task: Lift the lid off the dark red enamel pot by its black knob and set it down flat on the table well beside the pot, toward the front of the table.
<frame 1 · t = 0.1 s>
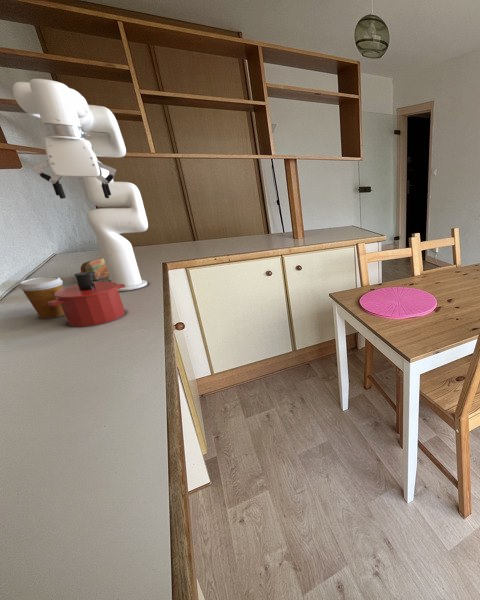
hand: (85, 198, 93), 37 cm above the counter, tool pointing down, fingers open, 9 cm apart
tin: (102, 277, 141), on the counter
pot: (97, 317, 102), on the counter
disposable coffee cup: (54, 315, 103), on the counter
pot lid: (88, 290, 99), point 9 cm above the counter, touching pot
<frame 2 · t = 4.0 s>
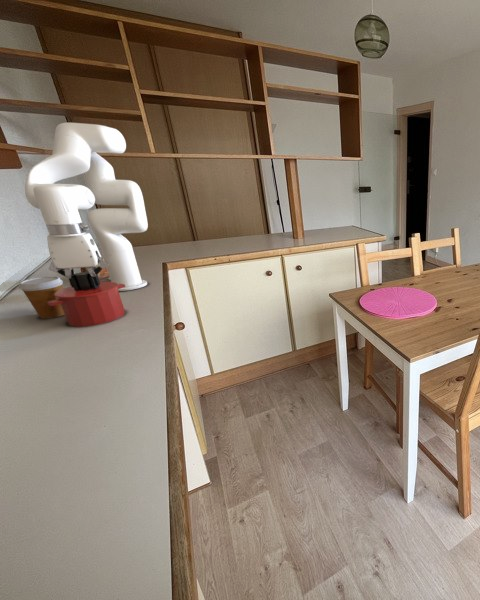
hand: (87, 288, 98), 10 cm above the counter, tool pointing down, fingers closed on pot lid, 3 cm apart
pot lid: (88, 290, 99), point 10 cm above the counter, touching gripper, pot
everything else where it was.
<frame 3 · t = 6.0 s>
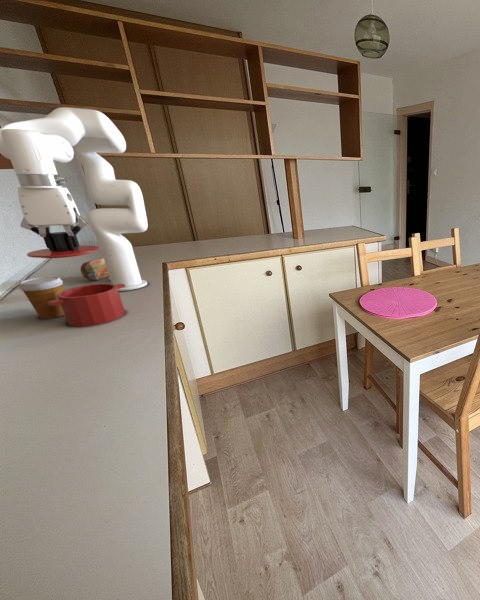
hand: (64, 249, 89), 24 cm above the counter, tool pointing down, fingers closed on pot lid, 3 cm apart
pot lid: (65, 252, 90), point 23 cm above the counter, touching gripper
everything else where it was.
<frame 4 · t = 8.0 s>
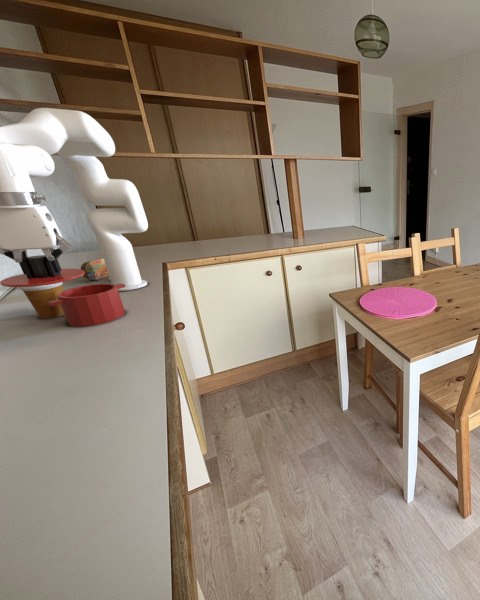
hand: (44, 275, 79), 20 cm above the counter, tool pointing down, fingers closed on pot lid, 3 cm apart
pot lid: (45, 278, 79), point 19 cm above the counter, touching gripper
everything else where it was.
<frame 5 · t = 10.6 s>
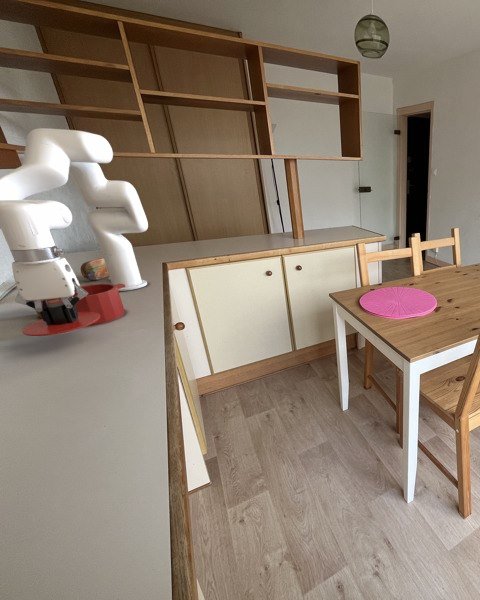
hand: (62, 321, 84), 7 cm above the counter, tool pointing down, fingers closed on pot lid, 3 cm apart
pot lid: (63, 323, 84), point 6 cm above the counter, touching gripper
everything else where it was.
when the fingers open (1 cm above the counter, at t = 12.2 s): pot lid stays where it is, point 1 cm above the counter.
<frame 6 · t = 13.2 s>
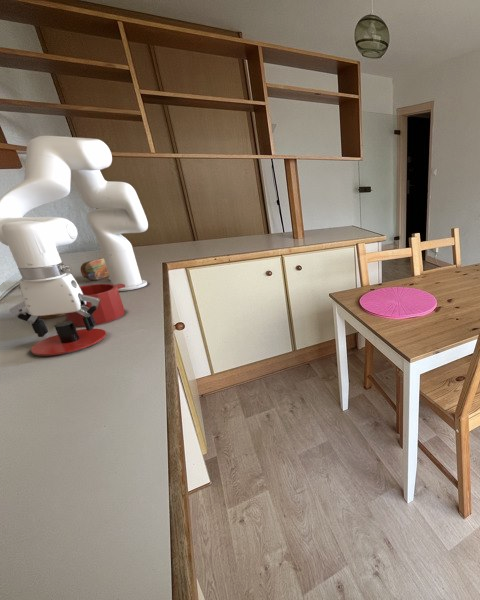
hand: (68, 331, 85), 4 cm above the counter, tool pointing down, fingers open, 9 cm apart
pot lid: (71, 341, 86), point 1 cm above the counter
everything else where it was.
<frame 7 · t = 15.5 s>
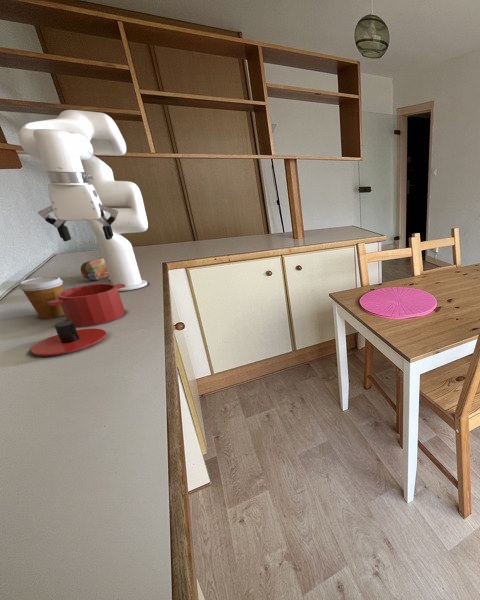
hand: (89, 239, 94), 25 cm above the counter, tool pointing down, fingers open, 9 cm apart
nothing on the counter moved.
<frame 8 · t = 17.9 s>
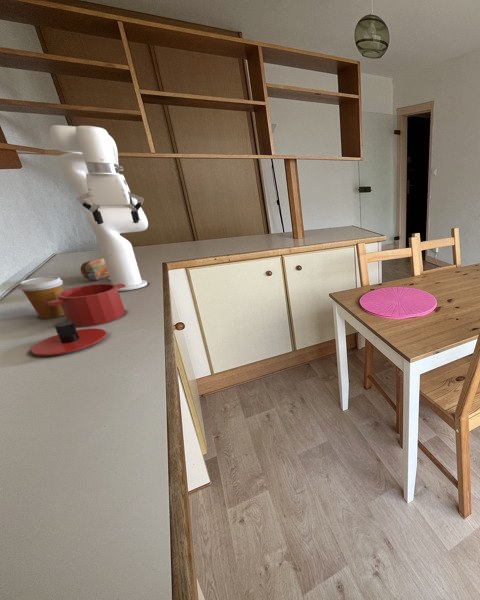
hand: (118, 223, 107), 28 cm above the counter, tool pointing down, fingers open, 9 cm apart
nothing on the counter moved.
at the end: pot lid inside the target area (0.0 cm from its centre), point 0.6 cm above the counter; pot lid tilted 0°; the gripper is holding nothing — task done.
